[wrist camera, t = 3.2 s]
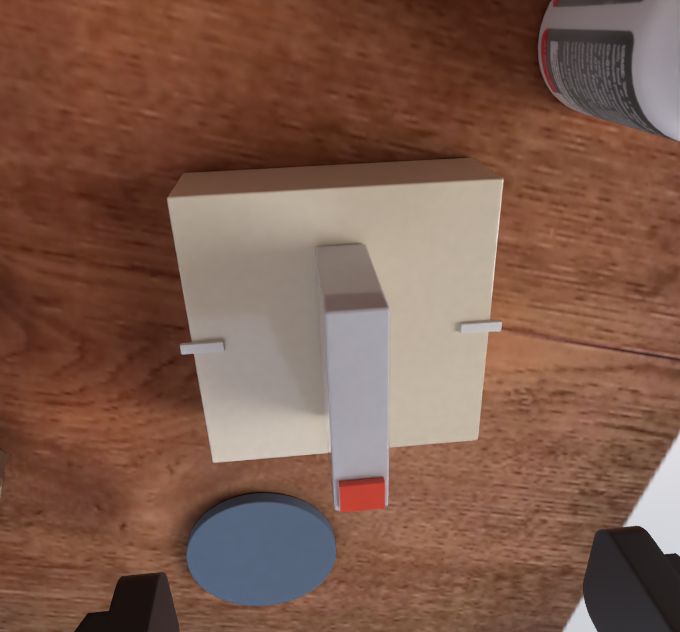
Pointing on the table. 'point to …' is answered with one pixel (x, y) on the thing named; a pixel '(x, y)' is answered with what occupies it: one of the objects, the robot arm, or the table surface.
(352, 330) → the tap handle
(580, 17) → the pill bottle
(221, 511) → the coaster
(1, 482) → the donut
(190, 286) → the base
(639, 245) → the table surface
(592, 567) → the robot arm
